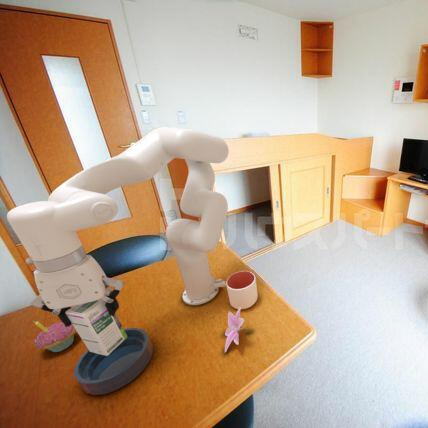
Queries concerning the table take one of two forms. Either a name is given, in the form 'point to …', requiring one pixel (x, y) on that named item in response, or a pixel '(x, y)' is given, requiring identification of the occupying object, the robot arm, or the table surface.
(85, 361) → the bowl
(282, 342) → the table surface
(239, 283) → the cup
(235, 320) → the lily
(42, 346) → the cupcake
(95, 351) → the syrup box
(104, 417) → the table surface
